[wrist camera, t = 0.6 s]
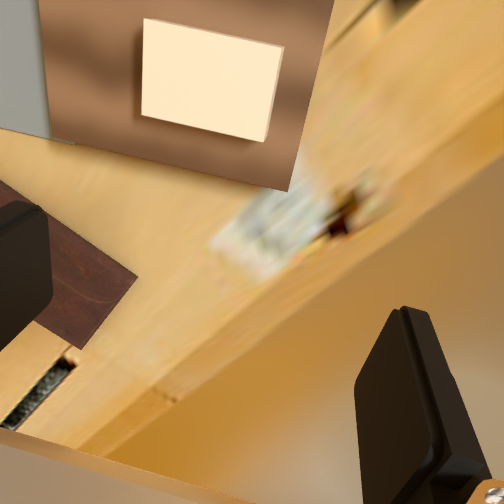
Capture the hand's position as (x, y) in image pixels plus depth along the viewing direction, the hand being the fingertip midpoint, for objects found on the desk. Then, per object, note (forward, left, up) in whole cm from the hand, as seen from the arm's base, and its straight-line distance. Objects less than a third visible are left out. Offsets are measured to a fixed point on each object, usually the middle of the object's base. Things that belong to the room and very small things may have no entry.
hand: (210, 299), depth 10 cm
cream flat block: (-2, -6, -21) cm, 22 cm away
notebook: (+22, -25, -25) cm, 41 cm away
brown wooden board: (-2, -9, -25) cm, 26 cm away
